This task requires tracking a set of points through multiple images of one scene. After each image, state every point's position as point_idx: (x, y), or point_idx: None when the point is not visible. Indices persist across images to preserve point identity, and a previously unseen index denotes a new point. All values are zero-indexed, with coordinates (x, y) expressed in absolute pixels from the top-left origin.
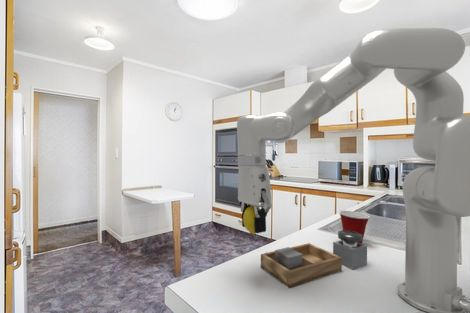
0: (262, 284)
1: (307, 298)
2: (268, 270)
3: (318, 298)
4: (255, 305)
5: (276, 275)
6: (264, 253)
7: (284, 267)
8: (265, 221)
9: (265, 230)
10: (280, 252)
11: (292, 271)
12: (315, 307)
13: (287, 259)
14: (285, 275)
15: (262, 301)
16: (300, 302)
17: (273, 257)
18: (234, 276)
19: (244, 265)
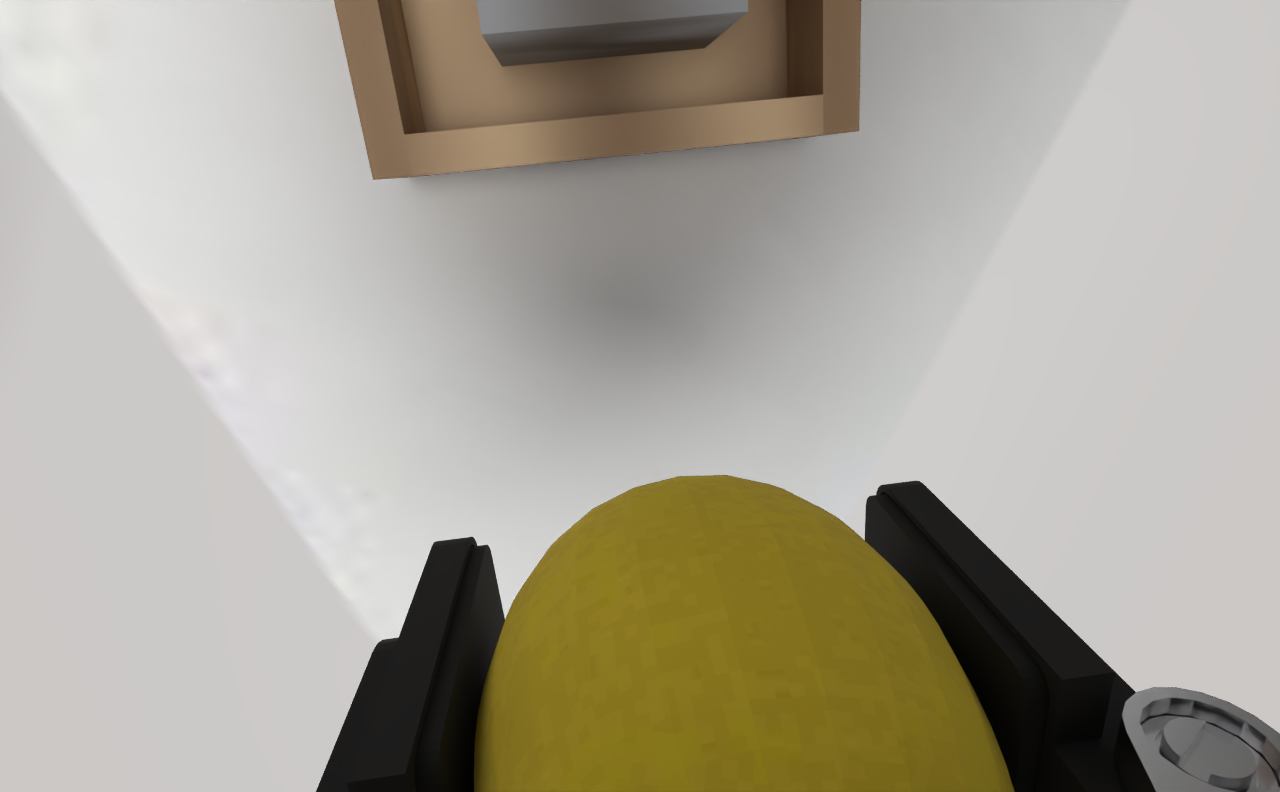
0: (676, 303)
1: (966, 90)
2: (533, 164)
3: (1008, 7)
4: (857, 449)
5: (653, 152)
6: (362, 123)
7: (756, 110)
8: (1016, 585)
9: (920, 492)
10: (574, 10)
11: (855, 85)
12: (1060, 110)
13: (722, 20)
14: (788, 138)
15: (845, 396)
16: (972, 171)
17: (392, 11)
18: (493, 449)
19: (325, 304)
